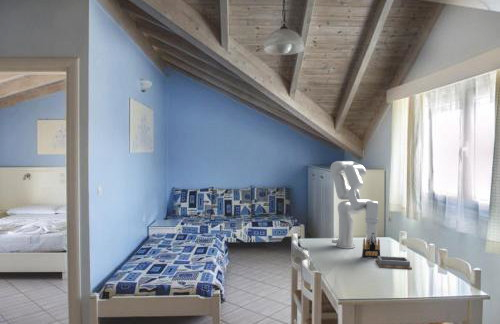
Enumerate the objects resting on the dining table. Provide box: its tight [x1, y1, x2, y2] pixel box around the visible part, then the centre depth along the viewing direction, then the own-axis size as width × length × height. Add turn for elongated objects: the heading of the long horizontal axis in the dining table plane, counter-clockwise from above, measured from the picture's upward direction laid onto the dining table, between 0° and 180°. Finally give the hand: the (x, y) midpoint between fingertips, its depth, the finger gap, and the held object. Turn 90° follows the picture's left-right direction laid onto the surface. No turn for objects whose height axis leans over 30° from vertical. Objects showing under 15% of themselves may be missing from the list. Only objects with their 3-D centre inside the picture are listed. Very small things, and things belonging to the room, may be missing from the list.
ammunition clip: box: [361, 237, 381, 259], centre depth 230 cm, size 11×2×12 cm, turn 84°
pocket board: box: [375, 255, 413, 270], centre depth 215 cm, size 17×14×4 cm
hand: (371, 249), depth 230 cm, fingers open, 5 cm apart
